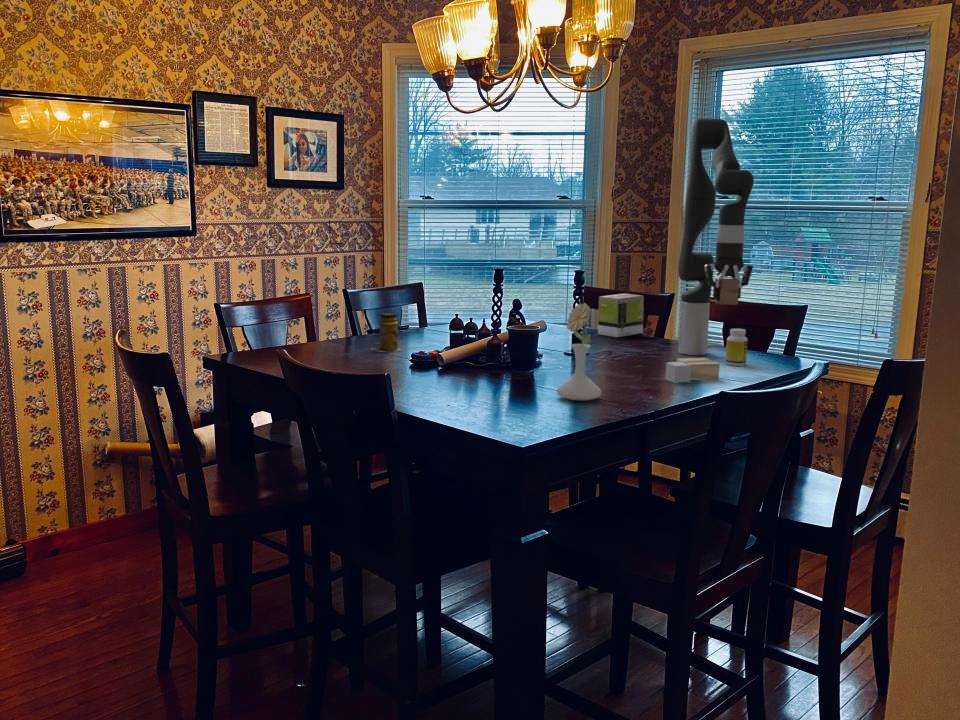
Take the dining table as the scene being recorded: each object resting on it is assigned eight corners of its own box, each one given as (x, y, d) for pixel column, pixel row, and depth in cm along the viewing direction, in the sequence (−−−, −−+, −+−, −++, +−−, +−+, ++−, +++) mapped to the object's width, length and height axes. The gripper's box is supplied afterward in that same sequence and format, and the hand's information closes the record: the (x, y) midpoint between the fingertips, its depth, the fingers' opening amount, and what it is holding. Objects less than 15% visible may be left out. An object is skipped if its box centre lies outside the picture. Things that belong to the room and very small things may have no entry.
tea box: (623, 330, 326) (624, 292, 323) (643, 334, 318) (645, 295, 315) (596, 334, 316) (598, 295, 313) (617, 337, 309) (619, 297, 306)
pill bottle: (746, 366, 258) (749, 331, 256) (726, 365, 259) (728, 330, 257) (744, 363, 264) (747, 328, 262) (724, 362, 265) (726, 327, 263)
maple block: (675, 375, 245) (676, 358, 245) (704, 374, 247) (705, 357, 246) (688, 381, 237) (689, 364, 236) (718, 381, 238) (719, 363, 237)
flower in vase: (553, 393, 219) (556, 298, 214) (596, 393, 220) (600, 298, 215) (561, 405, 206) (564, 305, 202) (607, 405, 207) (611, 305, 202)
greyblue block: (665, 379, 238) (666, 362, 237) (680, 378, 240) (681, 361, 239) (674, 383, 234) (675, 366, 233) (690, 382, 235) (691, 365, 234)
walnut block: (714, 302, 245) (716, 278, 244) (731, 302, 246) (733, 278, 244) (720, 304, 240) (722, 280, 239) (737, 304, 241) (739, 280, 239)
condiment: (402, 350, 278) (402, 314, 276) (380, 352, 273) (380, 316, 271) (391, 346, 284) (391, 311, 282) (369, 349, 279) (369, 313, 277)
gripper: (749, 240, 244) (745, 299, 247) (701, 240, 243) (697, 298, 246) (759, 242, 237) (755, 302, 240) (710, 241, 236) (706, 301, 239)
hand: (726, 300), depth 243 cm, fingers closed on walnut block, 5 cm apart
